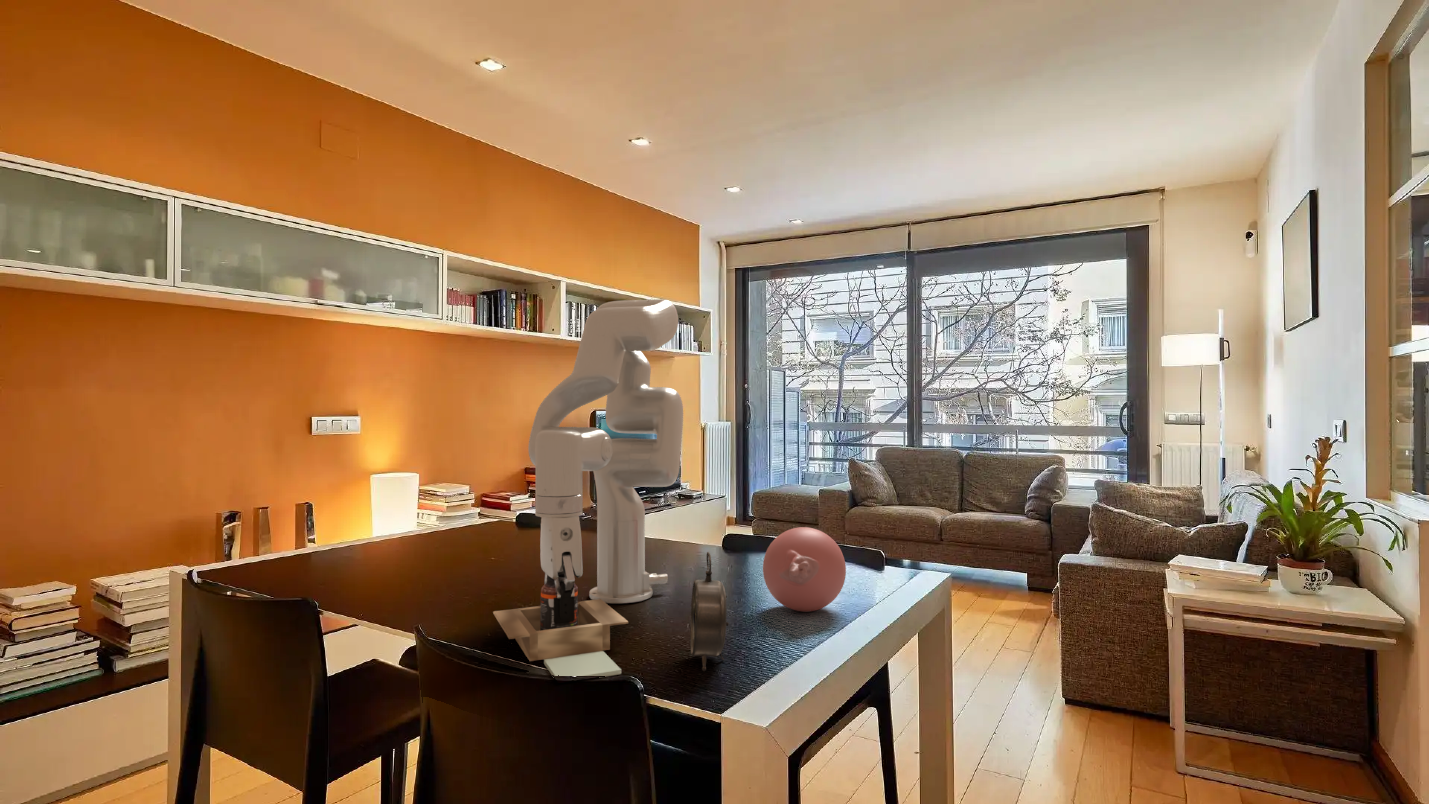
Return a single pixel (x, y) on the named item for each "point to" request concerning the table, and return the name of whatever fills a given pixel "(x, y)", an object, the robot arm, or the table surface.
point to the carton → (561, 630)
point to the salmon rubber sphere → (804, 569)
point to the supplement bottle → (548, 606)
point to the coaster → (583, 665)
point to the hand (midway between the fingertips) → (559, 615)
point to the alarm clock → (708, 617)
